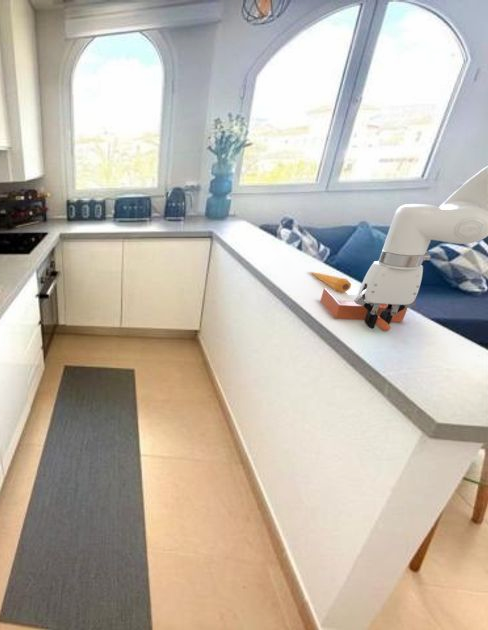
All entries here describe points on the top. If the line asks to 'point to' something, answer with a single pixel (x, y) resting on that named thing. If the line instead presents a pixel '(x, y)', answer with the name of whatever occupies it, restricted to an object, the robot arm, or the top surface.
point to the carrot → (334, 282)
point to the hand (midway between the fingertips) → (375, 326)
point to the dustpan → (356, 310)
